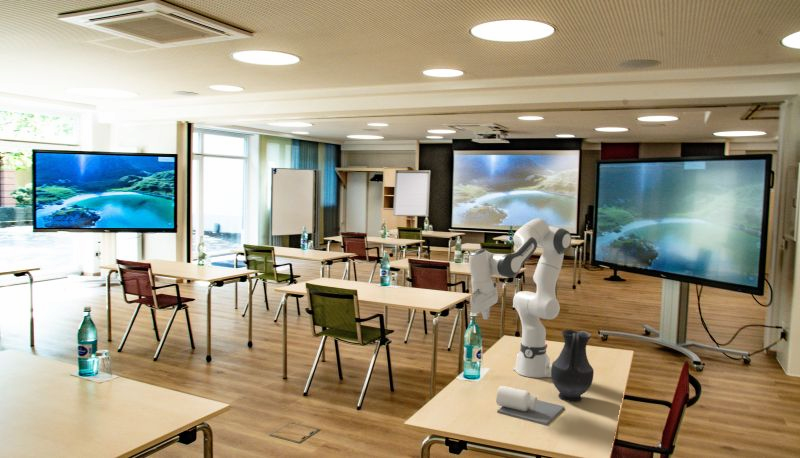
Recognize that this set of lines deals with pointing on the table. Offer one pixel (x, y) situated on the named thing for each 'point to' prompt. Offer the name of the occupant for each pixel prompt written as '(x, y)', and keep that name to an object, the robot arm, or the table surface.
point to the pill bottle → (515, 399)
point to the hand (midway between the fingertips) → (486, 318)
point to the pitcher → (572, 367)
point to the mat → (535, 412)
